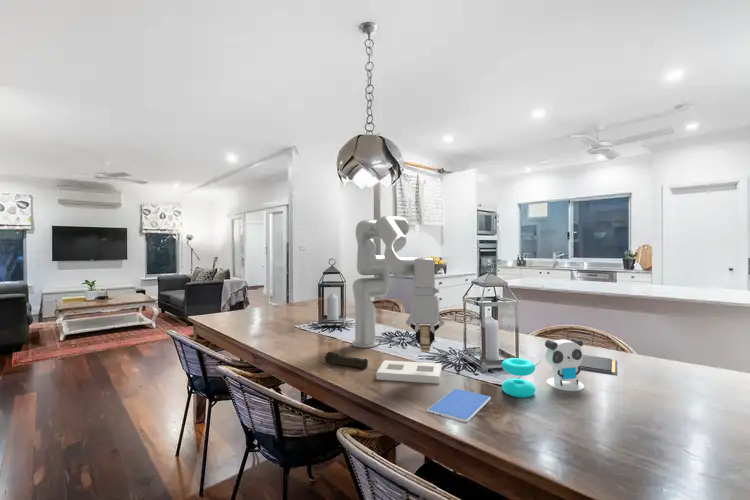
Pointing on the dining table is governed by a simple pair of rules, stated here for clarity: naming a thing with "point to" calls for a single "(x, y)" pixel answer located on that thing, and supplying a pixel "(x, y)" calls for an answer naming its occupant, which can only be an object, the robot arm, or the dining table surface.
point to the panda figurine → (565, 364)
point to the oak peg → (425, 337)
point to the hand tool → (345, 360)
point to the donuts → (518, 385)
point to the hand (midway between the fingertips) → (425, 342)
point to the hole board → (409, 371)
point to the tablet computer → (459, 405)
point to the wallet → (598, 365)
